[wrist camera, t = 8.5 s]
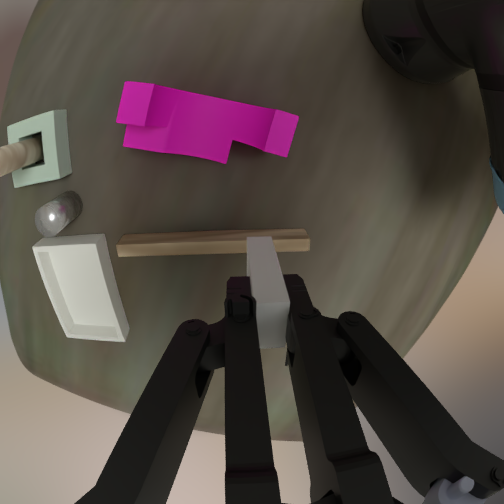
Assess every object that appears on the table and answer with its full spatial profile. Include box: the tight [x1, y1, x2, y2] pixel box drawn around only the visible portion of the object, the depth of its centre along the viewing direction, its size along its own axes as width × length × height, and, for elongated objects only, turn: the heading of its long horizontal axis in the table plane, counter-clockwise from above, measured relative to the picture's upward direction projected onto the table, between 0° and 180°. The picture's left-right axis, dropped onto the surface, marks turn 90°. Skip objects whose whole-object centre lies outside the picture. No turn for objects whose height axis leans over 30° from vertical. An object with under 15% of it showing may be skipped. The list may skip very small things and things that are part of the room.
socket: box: [7, 109, 72, 188], centre depth 25 cm, size 8×8×3 cm
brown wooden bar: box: [116, 229, 310, 257], centre depth 33 cm, size 2×22×3 cm, turn 90°
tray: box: [32, 233, 130, 342], centre depth 34 cm, size 16×11×3 cm
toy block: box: [116, 81, 299, 164], centre depth 25 cm, size 15×6×8 cm, turn 75°
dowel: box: [0, 136, 44, 177], centre depth 21 cm, size 3×3×12 cm
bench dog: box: [35, 191, 82, 237], centre depth 28 cm, size 4×4×6 cm
